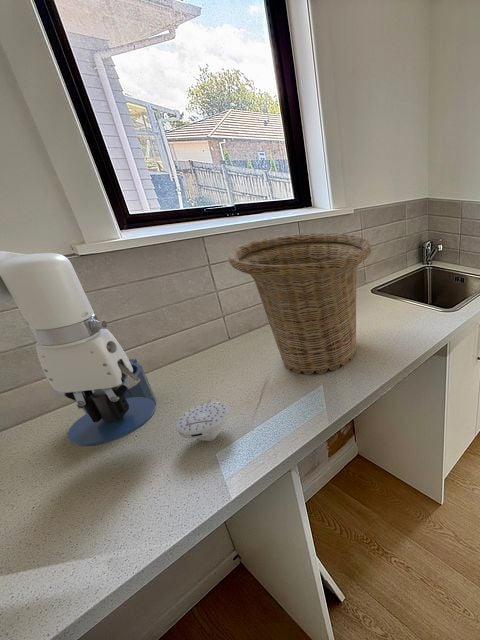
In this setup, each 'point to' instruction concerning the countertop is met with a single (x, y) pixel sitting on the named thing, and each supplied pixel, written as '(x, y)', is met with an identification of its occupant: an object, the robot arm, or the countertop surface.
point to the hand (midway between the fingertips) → (111, 415)
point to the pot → (138, 390)
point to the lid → (110, 421)
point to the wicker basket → (307, 294)
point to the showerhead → (204, 421)
